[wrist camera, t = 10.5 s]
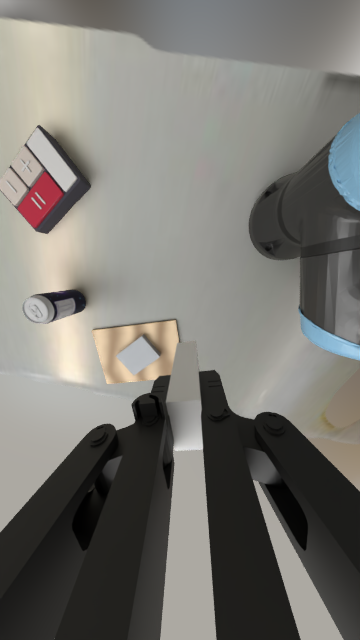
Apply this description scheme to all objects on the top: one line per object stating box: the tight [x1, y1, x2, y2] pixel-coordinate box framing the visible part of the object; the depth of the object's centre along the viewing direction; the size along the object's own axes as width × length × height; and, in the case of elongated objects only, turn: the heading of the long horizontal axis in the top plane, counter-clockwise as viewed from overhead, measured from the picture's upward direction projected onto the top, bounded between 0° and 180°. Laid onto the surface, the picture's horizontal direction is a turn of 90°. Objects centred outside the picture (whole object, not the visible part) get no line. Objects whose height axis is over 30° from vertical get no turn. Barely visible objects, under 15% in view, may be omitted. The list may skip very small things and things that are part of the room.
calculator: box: [0, 125, 91, 234], centre depth 35 cm, size 11×4×15 cm
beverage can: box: [22, 290, 86, 324], centre depth 37 cm, size 6×6×12 cm
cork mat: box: [92, 320, 179, 384], centre depth 45 cm, size 22×16×1 cm
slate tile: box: [116, 334, 161, 375], centre depth 44 cm, size 2×7×9 cm
